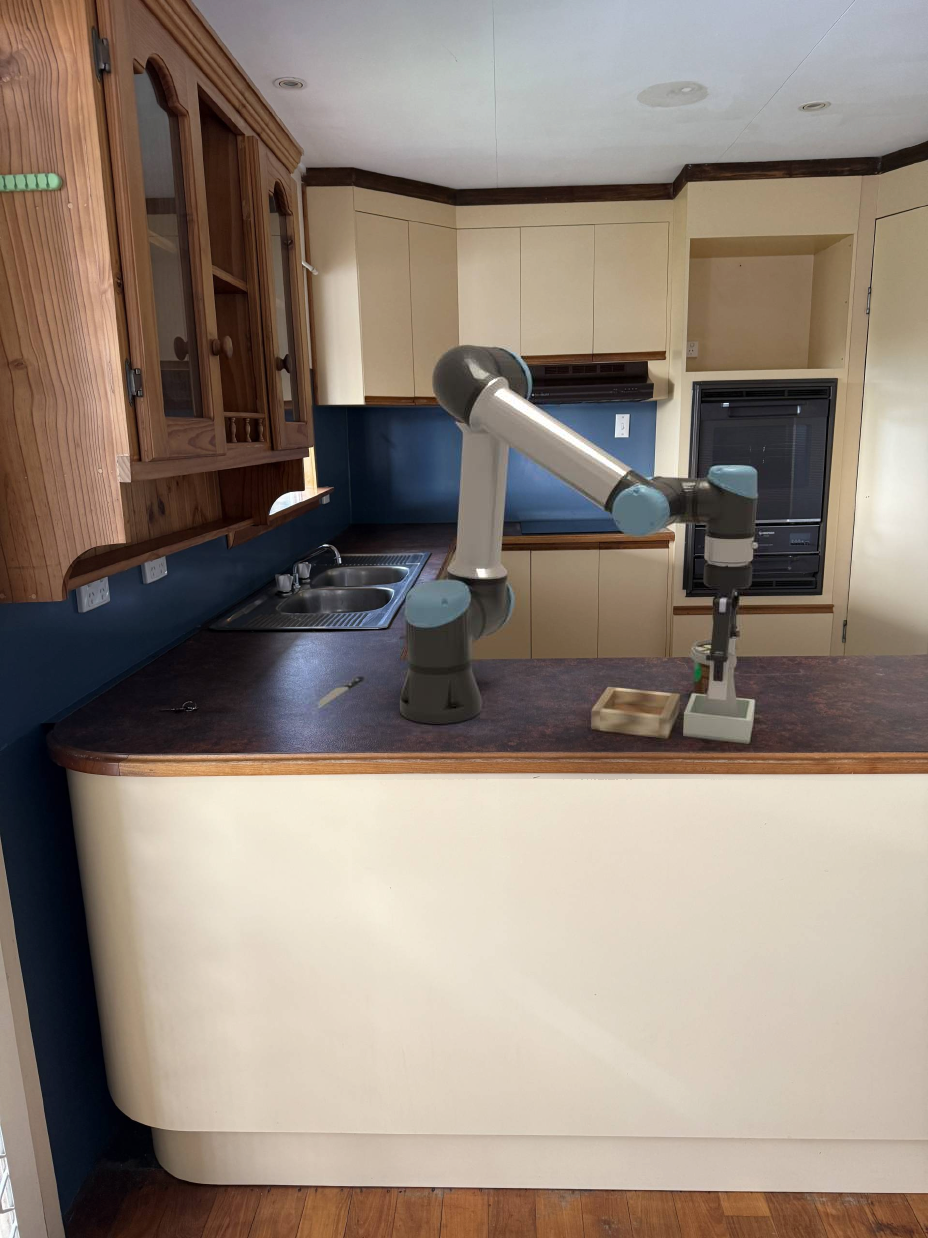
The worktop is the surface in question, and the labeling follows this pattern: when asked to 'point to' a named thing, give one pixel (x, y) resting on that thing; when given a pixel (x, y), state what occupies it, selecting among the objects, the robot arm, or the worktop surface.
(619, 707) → the plate
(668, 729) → the beige square tray
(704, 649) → the food container
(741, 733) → the bin
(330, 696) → the chef's knife
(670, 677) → the worktop surface
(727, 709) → the salt shaker
